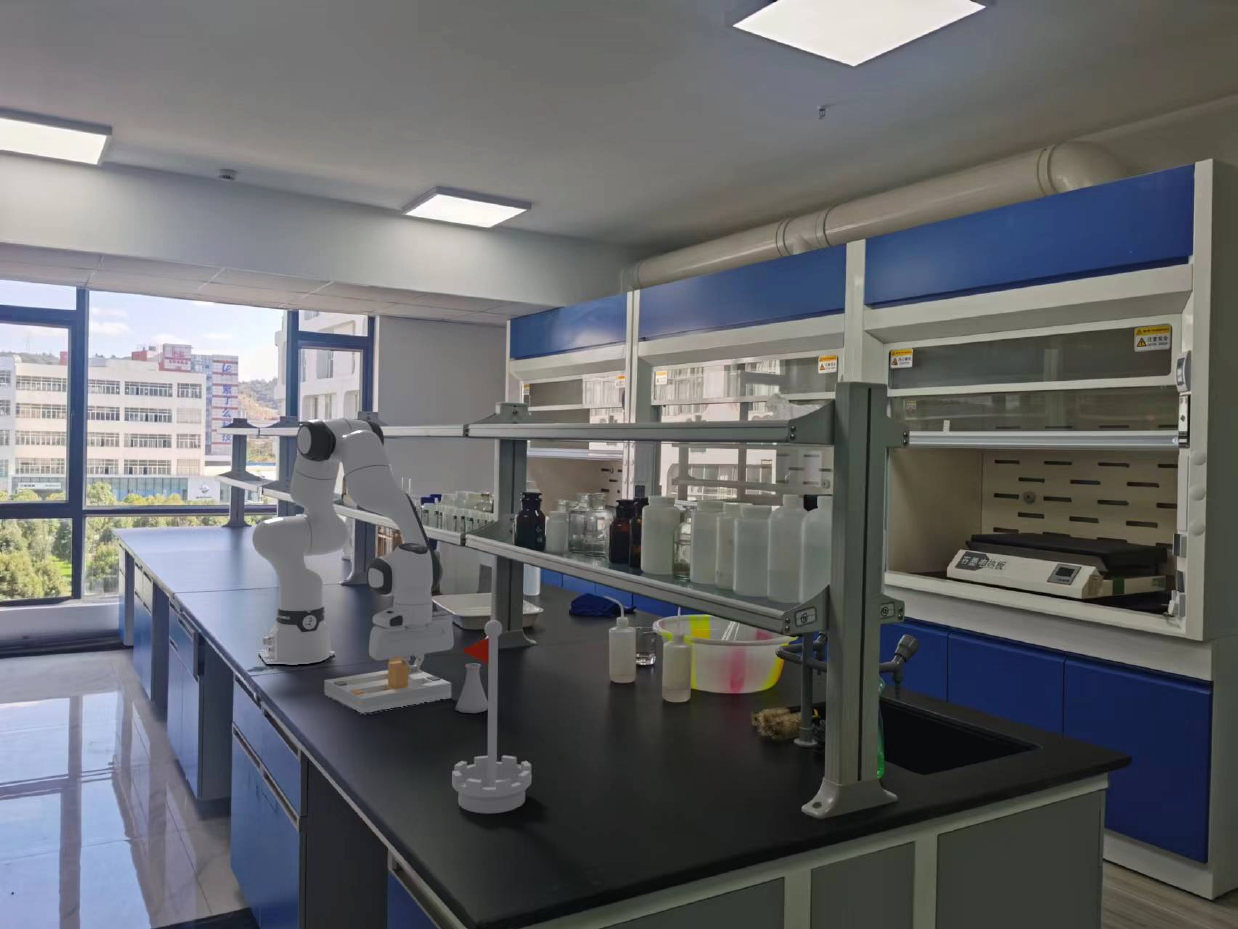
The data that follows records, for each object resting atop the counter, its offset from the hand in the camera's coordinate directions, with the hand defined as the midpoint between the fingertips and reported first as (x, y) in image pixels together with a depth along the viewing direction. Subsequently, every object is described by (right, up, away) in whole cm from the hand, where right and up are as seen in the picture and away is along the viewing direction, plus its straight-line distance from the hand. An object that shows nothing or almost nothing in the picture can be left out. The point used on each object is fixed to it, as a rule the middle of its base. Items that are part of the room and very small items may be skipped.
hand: (412, 673), depth 214 cm
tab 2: (-3, -4, -2) cm, 5 cm away
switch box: (-6, -6, +1) cm, 8 cm away
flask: (+15, -6, -9) cm, 19 cm away
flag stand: (+27, -7, -61) cm, 67 cm away
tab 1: (-5, -3, +8) cm, 10 cm away
